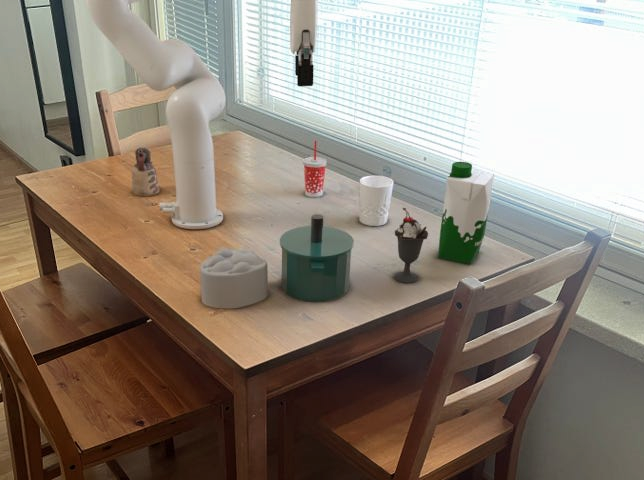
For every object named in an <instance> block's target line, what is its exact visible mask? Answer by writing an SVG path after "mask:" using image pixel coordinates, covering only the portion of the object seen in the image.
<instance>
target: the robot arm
mask: <svg viewBox="0 0 644 480" xmlns="http://www.w3.org/2000/svg"><path fill="white" fill-rule="evenodd" d="M140 1H142V0H85V3H86V8H87V11H88V13H89V16H90V18H91V19H92V21H93V23H94V24H95V26H96V27H97V28H98V30H99V31H100V32H101V33H102V35H104V37H106V38H107V40H108V41H109V42H110V43H111V44H112V45H113V47H115V49H116V50H117V51H118V52H119V53H120V55H121V56H122V58H123V59H124V60H125V61H126V63H127V64H128V65H129V66H130V67H131V68H132V70H133V71H134V73H136V74H137V75H138V77H139V78H140V79H141V81H143V83H144V84H145V85H146V86H147V87H148V88H149V89H151V90H152V91H156V92H162V91H166V90H169V89H171V88H172V87H174V88H175V89H176V90H174V91H173V93H172V94H170V96H169V98H168V100H167V102H166V107H165V116H166V121H167V125H168V126H167V127H168V129H169V134H170V139H171V148H172V149H171V150H172V159H173V170H174V171H173V172H174V173H173V174H174V184H175V196H176V197H175V199H176V200H175V201H172V202H159V207H158V208H159V211H162V213H163V214H171V223H173V225H175V226H176V227H178V228H180V229H185V230H205V229H210V228H213V227H216V226H218V225H219V224H221V223H222V222H223V220H224V214H223V212H222V211H221V210H220V209H218V208H217V193H216V174H215V173H216V172H215V153H214V141H213V137H212V134H211V130H210V122H211V121H213V120H215V118H217V117H218V116H220V115H221V114H222V112H223V111H224V109H225V107H226V99H227V97H226V93H225V90H224V87H223V86H222V84H221V83H220V82H219V80H218V79H217V77H216V76H215V75H214V73H213V72H212V71H211V70H210V69H209V67H208V66H207V64H205V63H204V62H203V59H201V58H200V56H199V55H198V54H197V52H195V50H194V49H193V48H192V47H191V46H189V44H187V43H186V42H184V41H183V40H181V39H177V38H167V39H164V40H161V39H160V37H159V36H157V35H156V34H155V33H154V32H153V30H152V29H151V28H150V26H149V25H148V24H147V22H146V21H144V19H143V18H141V16H139V15H137V14H136V13H135V12H133V11H132V10H131V8H130V7H129V6H128V5H130V4H134V3H138V2H140ZM318 9H319V0H290V11H289V12H290V13H289V22H290V23H289V47H290V48H289V49H290V52H291V53H292V54H294V55H295V54H296V55H295V57H294V59H295V61H294V62H295V63H294V64H295V65H294V71H295V72H294V74H295V76H296V77H297V78H296V81H297V82H296V84H297V86H298V87H313V86H314V67H315V66H314V63H313V62H314V60H313V59H314V58H313V54H314V53H315V52H316V49H317V48H316V47H317V39H318V37H317V36H318V15H319V13H318Z"/></svg>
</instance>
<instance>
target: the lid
mask: <svg viewBox="0 0 644 480" xmlns="http://www.w3.org/2000/svg"><path fill="white" fill-rule="evenodd" d="M310 218H311V219H310V220H311V221H310V225H305V226H298V227H294V228H291V229H288V230H287V231H285V232H284V233H282V235H280V238H279V246H280V248H281V250H282V249H283V250H284V251H286V252H287V253H289V254H291V255H294V256H297V257H301V258H307V259H329V258H335V257H339V256H342V255H344V254H346V253H348V252H349V251H350V250H351V251H352V250H353V248H354V245H355V240H354V238H353V236H352V235H351V234H350V233H348V232H347V231H345V230H342V229H340V228H335V227H333V226H325V225H324V219H325V216H324V215H323V214H320V213H316V214H312V215H311V217H310Z"/></svg>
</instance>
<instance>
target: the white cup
mask: <svg viewBox="0 0 644 480" xmlns="http://www.w3.org/2000/svg"><path fill="white" fill-rule="evenodd" d="M393 189H394V180H393V179H392V178H390V177H387V176H385V175H384V176H383V175H367V176H363V177H361V178H360V179H359V193H358V195H359V197H358V198H359V199H358V210H359V219H358V220H359V222H360V223H361V224H363V225H365V226H369V227H380V226H383V225H385V224H387V222H388V217H389V212H390V209H391V201H392V196H393Z"/></svg>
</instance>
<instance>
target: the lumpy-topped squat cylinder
mask: <svg viewBox="0 0 644 480" xmlns="http://www.w3.org/2000/svg"><path fill="white" fill-rule="evenodd" d="M268 274H269V273H268V261H267V260H266V259H265V258H263V257H261V256H259V255H258V254H257V253H256V252H255V251H254V250H252V249H248V248H244V247H243V248H237V249H232V250H231V249H230V248H228V247H222V248H219V249H218V250H217V251H216V252H214V254H213V255H210V256H209V257H208V258H207V259H205V260H204V261H202V263H201V265H200V267H199V275H200V292H201V293H200V294H201V302H202V304H204V305H205V306H207V307H209V308H214V309H225V310H226V309H239V308H243V307H247V306H250V305H251V306H252V305H254V304H257V303H259V302H262V301H264V300H265V299H266V298H268V294H269V290H268V289H269V288H268V287H269V285H268V284H269V283H268V282H269V279H268V277H269V276H268Z"/></svg>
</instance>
